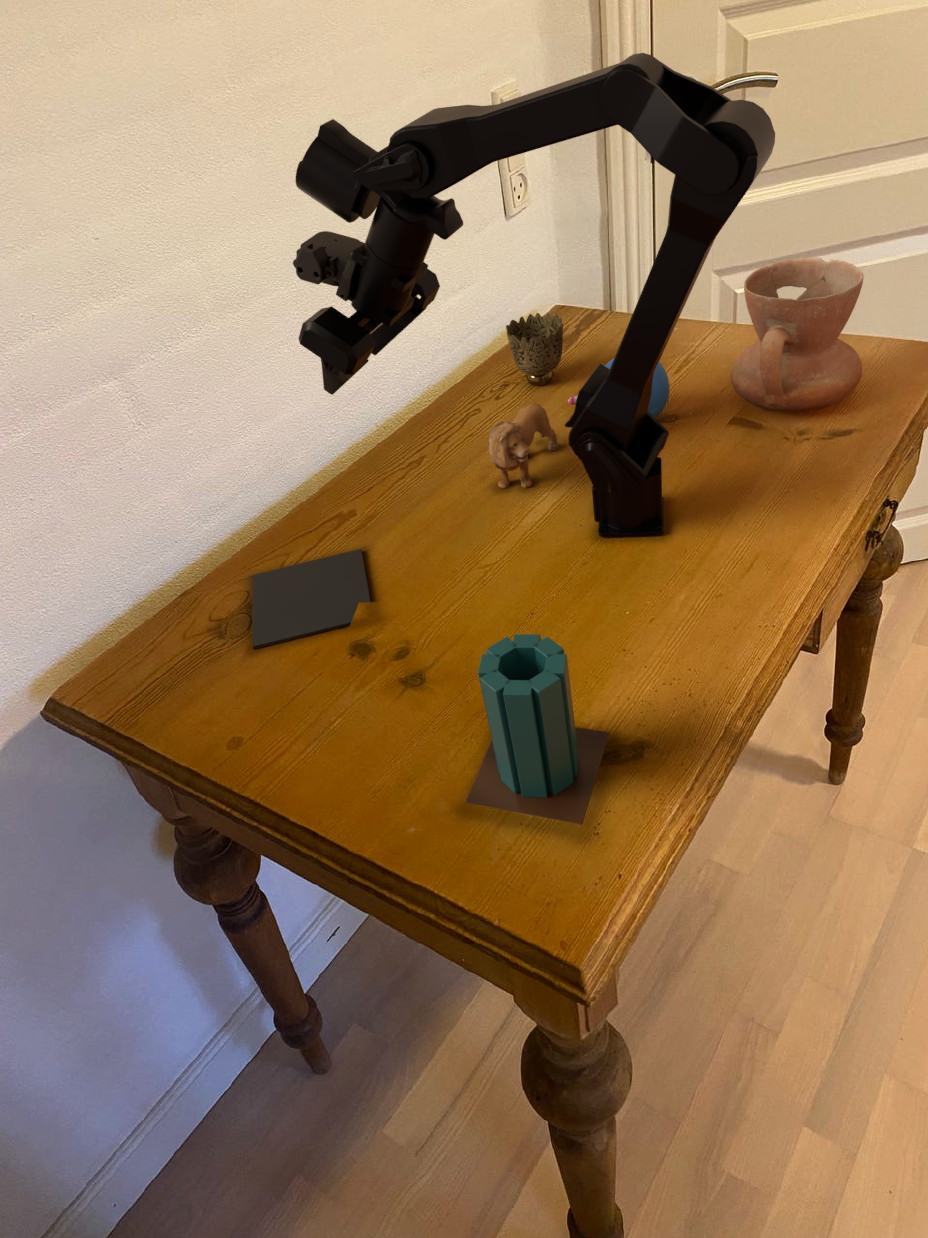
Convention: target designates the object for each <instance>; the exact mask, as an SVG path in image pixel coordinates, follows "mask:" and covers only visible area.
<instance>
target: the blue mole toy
mask: <svg viewBox="0 0 928 1238" xmlns="http://www.w3.org/2000/svg"><path fill="white" fill-rule="evenodd" d="M614 358H615V357H613V358H612V359H610V360H609V361H608V362H607V363H606V364H604V366H606V367H607V368H608V369H610V368H611V365H612V363H613V361H614ZM577 396H578V394H577V395H575V396H570V397H569V398H568V399H567V402H568V404H569V405H572V406H574V405H576V400H577ZM669 397H670V380H669V377H668V373H667V370H666V369H665V367H664V366H663V364H662V363H661V362H660V361H659V362H658V365H657V367H656V369H655V371H654V375H653V381H652V393H651V398H650V402H649V406H648V410H647V411H648V412H649V413H650V414H651V415H652V416H653V417H654V418H655V419H657V418H658V417H660V415H661V414H662V413H663V411H664V410H665V408H666V407H667V403H668V401H669Z"/></svg>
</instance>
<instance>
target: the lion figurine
mask: <svg viewBox="0 0 928 1238" xmlns="http://www.w3.org/2000/svg"><path fill="white" fill-rule="evenodd" d="M536 432H537V433H539V436H540V438H547V439H548V438H549V442H548V445H547V450H549V451H556V450H557V449H558V442H557V435H556V431H555V429H553V428H552V426H551V424H550V419H549V417H548V413H547V411H546V409H545V408H544V407H543V406H542V405H541V404H539V403H537V402H536V403H530V404H527V405H525V406H522V407H521V408H520V409H519V410H518V412H517V414H516V416H515V418H514V419H513V421H512V422H510V421H508V420H506V421H501V422H500V423H497V424H496V425H495V426H494V427H493V428H492V429H491V431H490V434H489V435H488V438H487V441H488V447H487V451H488V455H489V458H490V459H489V460H490V463H491V464H494V466H495V468H496V469H497V470H498V472H499V476H500V478H501V480H499V481H498V483H497V484H498V488H500V489H506V488H508V487H509V486H510V477H509V473H508V472H513V471H516V470H518V469H519V473H520V474H519V481H520V486H521V488H525V489H526V488H529V487H531V486H533V482H532V480H531V476H530V472H529V466H530V465H529V464H530V462H529V461H530V460H529V456H528V455H529V453H530V451H531V446H532V444H533V441H534V438H535V434H536Z"/></svg>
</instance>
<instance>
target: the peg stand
mask: <svg viewBox="0 0 928 1238" xmlns="http://www.w3.org/2000/svg"><path fill="white" fill-rule="evenodd" d="M575 729H576V738H577V746H578V755H579V762H578V773H577V777H573V783H572V784H570V785H569V786H568V787H566V788H565V789H563V790H562V791H560V792H559V793H558V794H556V795H555V796H554V795H553V794H552V793H551V792H550V791H549V790H548V796H547V798H538V797H522V793H521V791H520V792H518V793H517V794H515V793H514V792H513V791H512V790H511V789H510V788H509V787H508V786H507V785H506V784H505V783H504V782H503V781H502V780H501V777H500V774H499V771H498V767H497V762H496V757H495V752H494V748H493V743H492V739H491V740H490V743H489V745H488V748H487V750H486V752H485V755H484V757H483V760H482V762H481V764H480V767H479V769H478V771H477V774H476V777H475V778H474V781H473V783H472V786H471V788H470V790H469V793H468V795H467V797H466V800H465V803H466V804H471V805H476V806H481V807H487V808H492V809H498V810H501V811H508V812H513V813H518V814H522V815H523V814H524V815H528V816H534V817H538V818H544V819H549V820H555V821H559V822H564V823H569V824H570V823H571V824H576V825H581V826H582V825H583V822H584V819H585V815H586V812H587V810H588V806H589V803H590V799H591V796H592V793H593V790H594V786H595V783H596V779H597V776H598V772H599V769H600V766H601V762H602V759H603V756H604V753H605V749H606V747H607V742H608V739H609V737H610V732H609V731H603V730H597V729H590V728H584V727H576V726H575Z"/></svg>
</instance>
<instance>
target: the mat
mask: <svg viewBox="0 0 928 1238" xmlns="http://www.w3.org/2000/svg"><path fill="white" fill-rule="evenodd" d="M365 565H366V564H365V559H364V555H363V550H362V548H357V549H354V550H350V551H346V552H341V553H337V554H333V555H329V556H325V557H321V558H317V559H313V560H308V561H304V562H300V563H296V564H293V565H288V566H285V567H279V568H276V569H273V570H268V571H264V572H259V573H255V574H252V575H251V576H252V577H251V591H252V592H251V605H252V607H251V608H252V609H251V611H252V612H251V613H252V614H251V617H252V621H251V624H252V627H251V628H252V633H251V634H252V635H251V637H252V638H251V640H252V641H251V642H252V649H253V650H256V649H260V648H265V647H269V646H273V645H278V644H281V643H284V642H288V641H293V640H296V639H302V638H305V637H309V636H312V635H316V634H317V635H318V634H321V633H326V632H328V631H333V630H337V629H342V628H347V627H350V626H351V625H352V621H353V620H354V617H355V614H356V611H357V608H358V606H359V604H361V603H372V599H371V595H370V589H369V582H368V578H367V577H368V576H367V571H366V566H365Z"/></svg>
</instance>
